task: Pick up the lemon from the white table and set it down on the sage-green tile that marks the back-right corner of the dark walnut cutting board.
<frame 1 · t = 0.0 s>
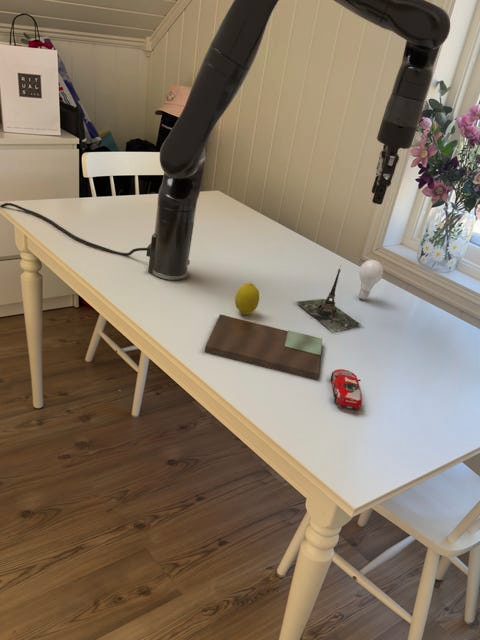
hand: (376, 198, 136), 29 cm above the table, tool pointing down, fingers open, 8 cm apart
lightbulb: (362, 299, 164), on the table
board: (265, 348, 131), on the table
lemon: (243, 315, 143), on the table
eiffel tower souvenir: (327, 316, 151), on the table
race car: (344, 395, 122), on the table
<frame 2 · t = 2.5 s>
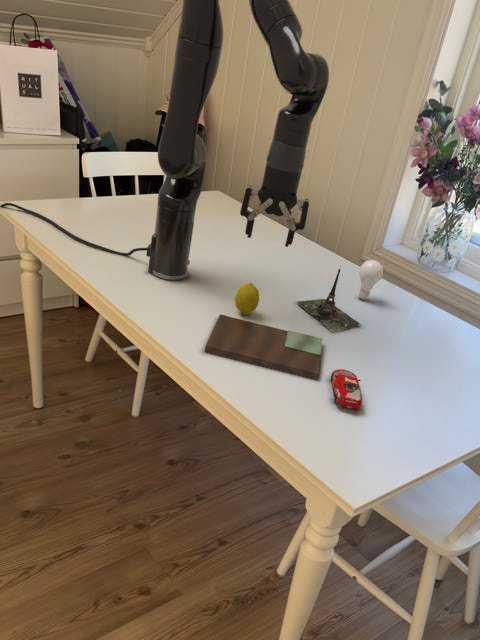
hand: (267, 241, 133), 18 cm above the table, tool pointing down, fingers open, 8 cm apart
nothing on the table moved.
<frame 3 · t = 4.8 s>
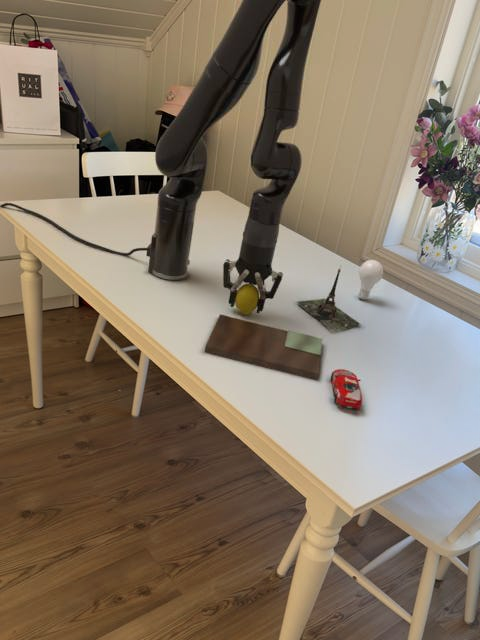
hand: (245, 308, 142), 2 cm above the table, tool pointing down, fingers closed on lemon, 5 cm apart
lemon: (243, 315, 143), on the table, touching gripper
everything else where it was.
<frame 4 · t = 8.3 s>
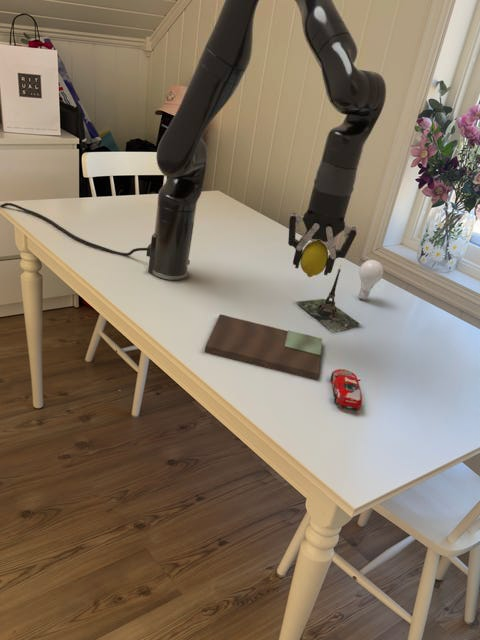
hand: (311, 270, 126), 17 cm above the table, tool pointing down, fingers closed on lemon, 5 cm apart
lemon: (309, 277, 127), point 16 cm above the table, touching gripper
everything else where it was.
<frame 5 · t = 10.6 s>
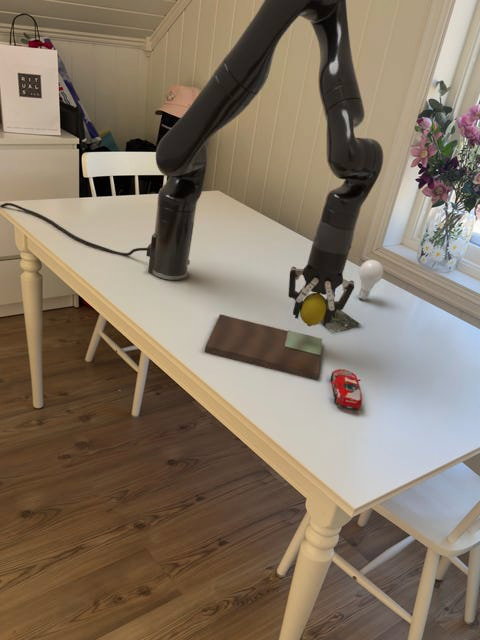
hand: (310, 320, 130), 7 cm above the table, tool pointing down, fingers closed on lemon, 5 cm apart
lemon: (308, 327, 131), point 5 cm above the table, touching gripper
everything else where it was.
when the fingers open (3 cm above the table, at t = 12.1 s): lemon stays where it is, resting on board.
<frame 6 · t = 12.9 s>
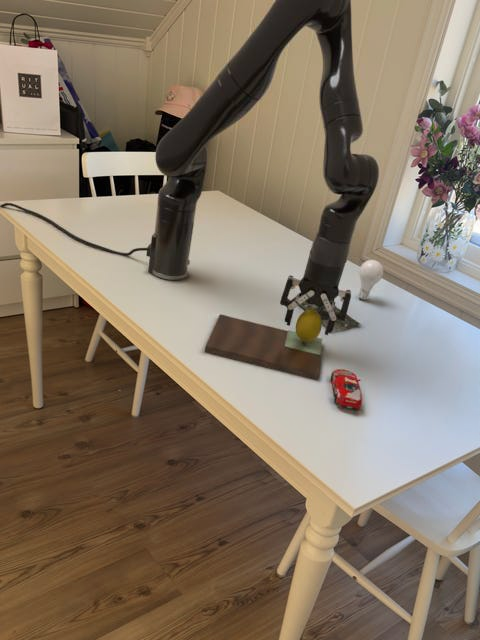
hand: (307, 328, 131), 5 cm above the table, tool pointing down, fingers open, 8 cm apart
lemon: (303, 342, 133), point 2 cm above the table, touching board
everything else where it was.
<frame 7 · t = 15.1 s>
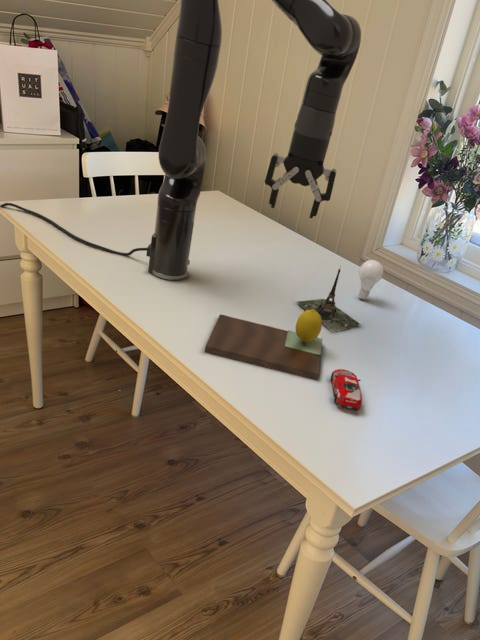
hand: (291, 212, 130), 25 cm above the table, tool pointing down, fingers open, 8 cm apart
nothing on the table moved.
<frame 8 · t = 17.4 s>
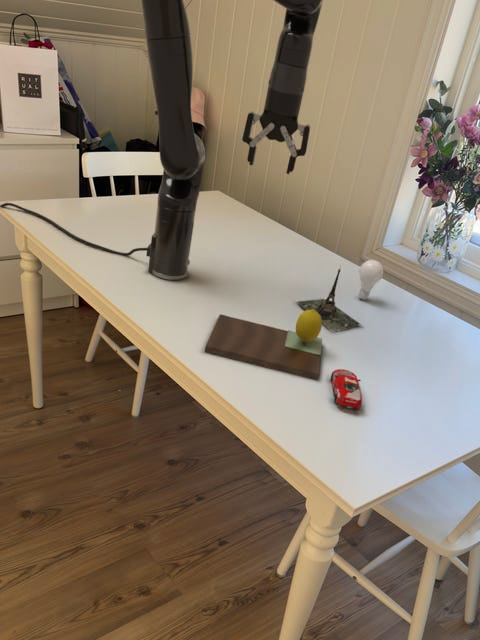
hand: (269, 168, 136), 30 cm above the table, tool pointing down, fingers open, 8 cm apart
nothing on the table moved.
at the end: lemon inside the target area on the board (0.1 cm from its centre), point 1.5 cm above the board's base; the gripper is holding nothing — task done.
